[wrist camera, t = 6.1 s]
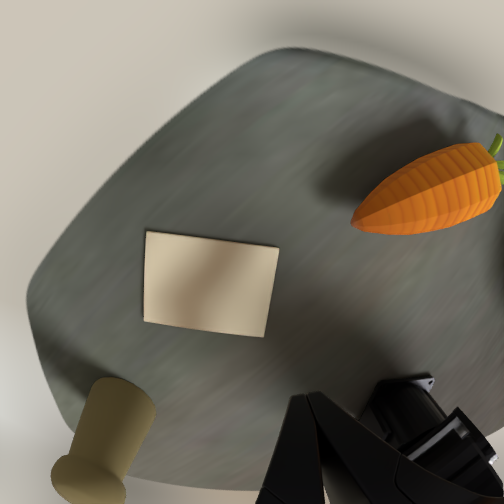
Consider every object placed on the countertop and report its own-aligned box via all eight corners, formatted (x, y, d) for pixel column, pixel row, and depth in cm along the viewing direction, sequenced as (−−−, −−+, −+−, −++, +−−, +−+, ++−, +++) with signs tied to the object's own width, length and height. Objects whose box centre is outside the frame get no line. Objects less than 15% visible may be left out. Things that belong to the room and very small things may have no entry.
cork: (94, 414, 21) (52, 502, 10) (88, 367, 19) (26, 464, 9) (154, 433, 21) (129, 533, 10) (158, 389, 20) (121, 506, 9)
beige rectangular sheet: (278, 247, 17) (279, 249, 17) (263, 335, 19) (263, 337, 19) (148, 231, 17) (146, 231, 17) (145, 319, 18) (143, 320, 18)
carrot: (341, 165, 13) (510, 119, 12) (327, 196, 18) (479, 145, 17) (383, 262, 12) (540, 182, 11) (357, 269, 17) (504, 200, 16)
